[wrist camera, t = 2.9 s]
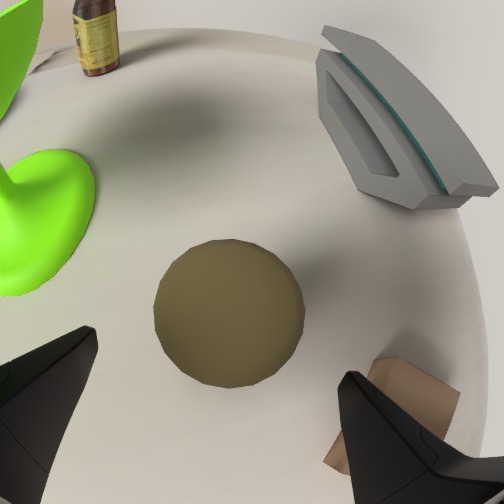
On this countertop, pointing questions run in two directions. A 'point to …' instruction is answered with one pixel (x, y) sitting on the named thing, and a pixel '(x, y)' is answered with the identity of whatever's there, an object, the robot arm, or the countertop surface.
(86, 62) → the sauce bottle
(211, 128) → the countertop surface
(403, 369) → the tan flat block
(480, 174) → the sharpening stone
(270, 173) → the countertop surface
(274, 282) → the olive tall rounded piece
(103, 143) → the countertop surface
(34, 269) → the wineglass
